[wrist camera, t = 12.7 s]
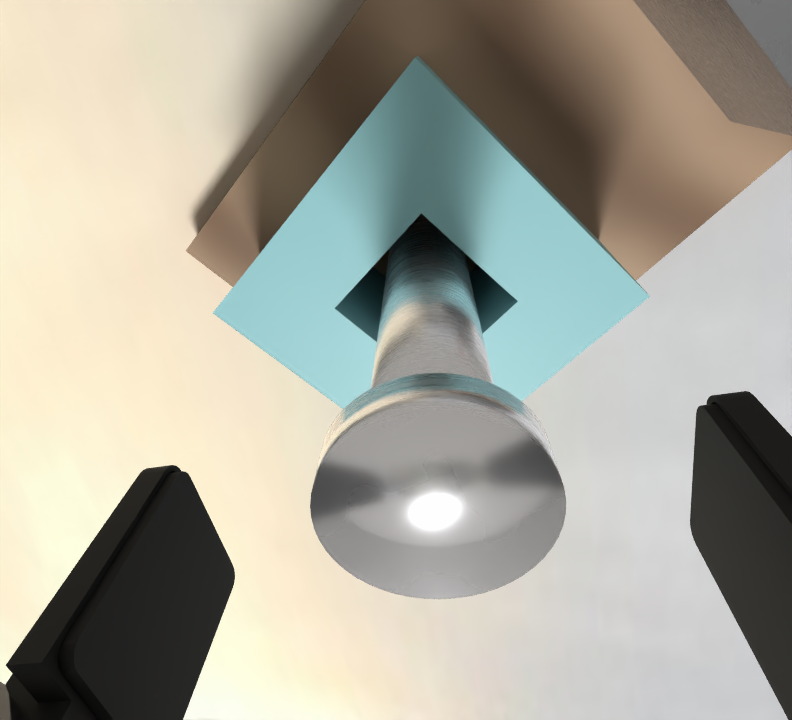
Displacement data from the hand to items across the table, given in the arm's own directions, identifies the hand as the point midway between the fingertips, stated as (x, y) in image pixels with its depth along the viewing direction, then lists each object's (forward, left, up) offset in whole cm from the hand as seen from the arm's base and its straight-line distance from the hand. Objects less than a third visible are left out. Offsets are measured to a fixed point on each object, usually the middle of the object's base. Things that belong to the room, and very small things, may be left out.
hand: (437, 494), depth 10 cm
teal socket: (0, 0, -15) cm, 15 cm away
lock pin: (0, 0, -15) cm, 15 cm away
